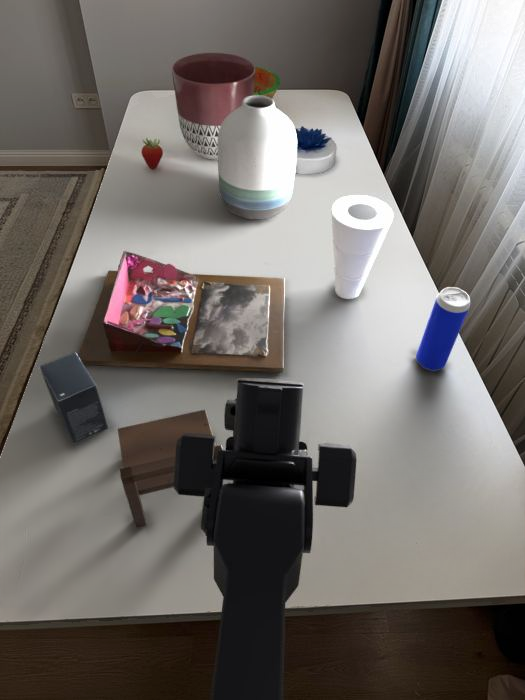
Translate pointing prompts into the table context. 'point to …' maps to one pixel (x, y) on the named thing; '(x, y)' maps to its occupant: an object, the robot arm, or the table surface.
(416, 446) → the table surface
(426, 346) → the beverage can
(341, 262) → the stacked toilet paper rolls
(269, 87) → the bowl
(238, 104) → the planter
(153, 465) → the brown legged wooden frame
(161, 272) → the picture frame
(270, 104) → the vase
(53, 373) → the box
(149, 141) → the fruit
